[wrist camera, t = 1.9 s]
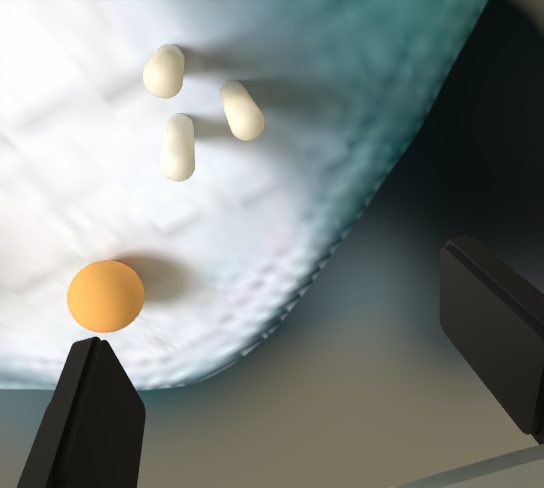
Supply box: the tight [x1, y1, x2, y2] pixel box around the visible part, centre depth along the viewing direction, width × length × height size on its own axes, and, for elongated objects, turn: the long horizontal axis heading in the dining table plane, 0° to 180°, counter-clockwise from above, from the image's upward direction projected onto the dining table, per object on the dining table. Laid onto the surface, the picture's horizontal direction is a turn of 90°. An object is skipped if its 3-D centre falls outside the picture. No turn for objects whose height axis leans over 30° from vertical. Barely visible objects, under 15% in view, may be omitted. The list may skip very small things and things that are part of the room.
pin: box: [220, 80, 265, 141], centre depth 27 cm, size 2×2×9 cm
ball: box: [67, 260, 145, 333], centre depth 34 cm, size 6×6×6 cm
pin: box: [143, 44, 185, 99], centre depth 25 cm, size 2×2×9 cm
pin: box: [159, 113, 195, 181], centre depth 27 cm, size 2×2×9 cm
